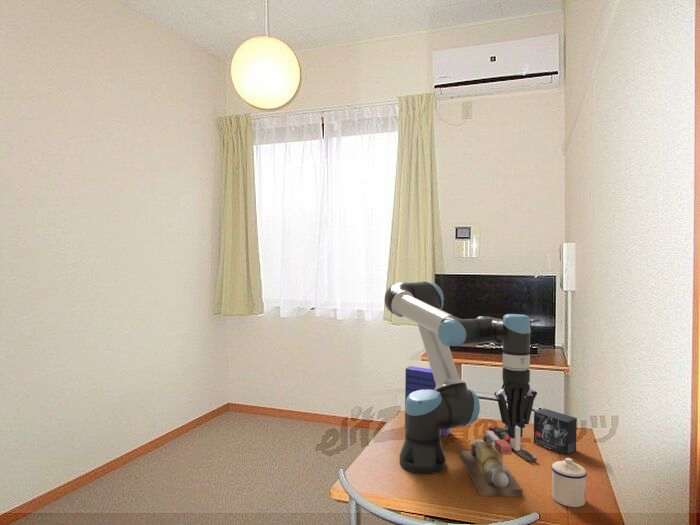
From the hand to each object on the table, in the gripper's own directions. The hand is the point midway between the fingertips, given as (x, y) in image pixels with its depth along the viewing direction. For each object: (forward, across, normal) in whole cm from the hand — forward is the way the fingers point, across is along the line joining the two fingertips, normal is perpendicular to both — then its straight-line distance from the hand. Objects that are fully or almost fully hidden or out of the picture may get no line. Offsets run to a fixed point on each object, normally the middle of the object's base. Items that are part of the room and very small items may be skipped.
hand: (515, 448), depth 136 cm
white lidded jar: (+13, +13, -5) cm, 19 cm away
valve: (+14, +16, +29) cm, 36 cm away
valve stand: (+13, -1, +12) cm, 18 cm away
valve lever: (+1, -2, +6) cm, 7 cm away
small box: (+13, +34, +26) cm, 45 cm away
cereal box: (+13, -4, +51) cm, 53 cm away
